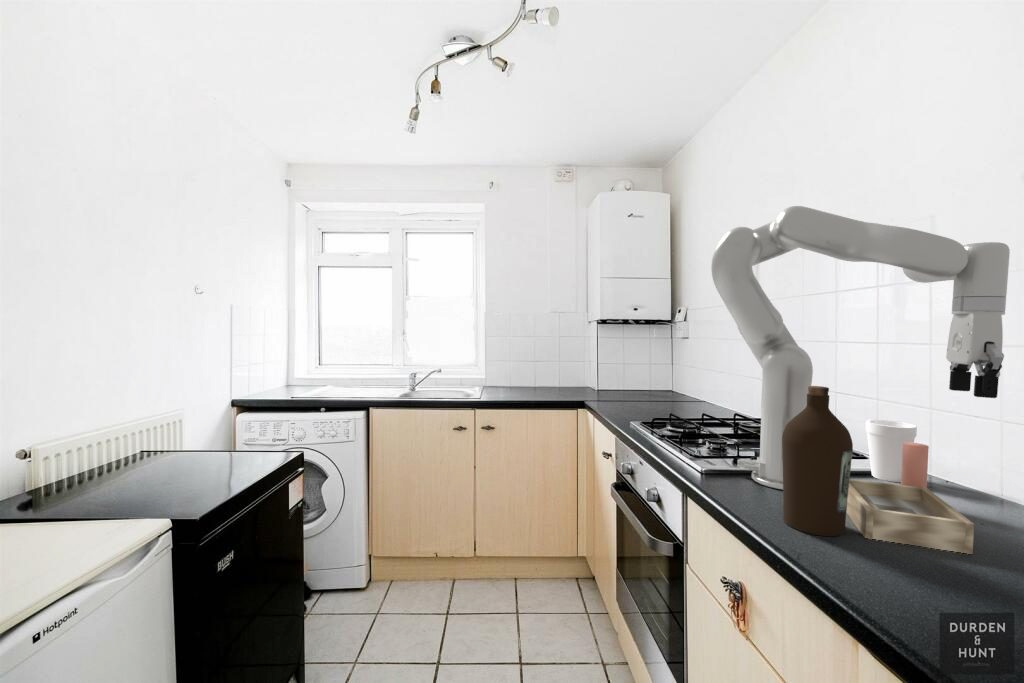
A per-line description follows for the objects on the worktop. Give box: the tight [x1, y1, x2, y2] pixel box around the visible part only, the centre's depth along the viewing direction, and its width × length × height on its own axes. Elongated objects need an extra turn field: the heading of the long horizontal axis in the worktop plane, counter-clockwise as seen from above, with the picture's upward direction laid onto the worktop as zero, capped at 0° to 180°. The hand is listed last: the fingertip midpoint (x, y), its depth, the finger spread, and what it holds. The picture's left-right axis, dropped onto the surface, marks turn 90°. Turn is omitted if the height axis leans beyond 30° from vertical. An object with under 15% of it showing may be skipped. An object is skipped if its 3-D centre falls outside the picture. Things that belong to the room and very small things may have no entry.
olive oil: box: [782, 385, 854, 537], centre depth 85 cm, size 11×11×25 cm
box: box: [846, 478, 975, 555], centre depth 86 cm, size 14×18×5 cm
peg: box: [900, 442, 930, 489], centre depth 97 cm, size 4×4×12 cm
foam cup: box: [865, 419, 918, 483], centre depth 113 cm, size 10×9×13 cm
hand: (971, 393), depth 94 cm, fingers open, 9 cm apart
